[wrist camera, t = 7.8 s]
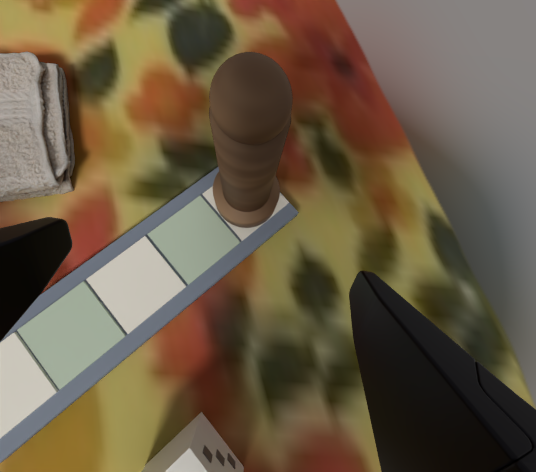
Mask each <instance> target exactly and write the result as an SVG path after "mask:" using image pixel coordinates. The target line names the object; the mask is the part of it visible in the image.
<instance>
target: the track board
mask: <svg viewBox="0 0 536 472" xmlns="http://www.w3.org/2000/svg"><path fill="white" fill-rule="evenodd" d="M218 172H219V168H218V167H217V168H216V169H214V170H213V171H212V172H210V173H209V174H208V175H206V176H205V177H203V178H202V179H201V180H199V181H198V182H196V183H195V184H194V185H192V186H191V187H189V188H188V189H187V190H185V191H184V192H183V193H181V194H180V195H178V196H177V197H176V198H174V199H173V200H171V201H170V202H169V203H167V204H166V205H164V206H163V207H162V208H160V209H159V210H158V211H156V212H155V213H153V214H152V215H151V216H149V217H148V218H146V219H145V220H144V221H142V222H141V223H139V224H138V225H137V226H135V227H134V228H133V229H131V230H130V231H128V232H127V233H126V234H124V235H123V236H121V237H120V238H119V239H117V240H116V241H115V242H113V243H112V244H110V245H109V246H108V247H106V248H105V249H103V250H102V251H101V252H99V253H98V254H96V255H95V256H94V257H92V258H91V259H90V260H88V261H87V262H85V263H84V264H83V265H81V266H80V267H78V268H77V269H76V270H74V271H73V272H71V273H70V274H69V275H67V276H66V277H65V278H63V279H62V280H60V281H59V282H58V283H56V284H55V285H53V286H52V287H51V288H49V289H48V290H46V291H45V292H44V293H42V294H41V295H40V296H38V298H37V299H36V300H35V301H34V302H33V304H32V305H31V306H30V307H29V308H28V310H27V311H26V312H25V313H24V314H23V315H22V317H21V318H20V319H19V320H18V321H17V323H16V324H15V325H14V326H13V327H12V329H11V330H10V331H9V332H8V333H7V334H6V336H5V337H4V338H3V339H2V340H1V342H0V463H1V462H3V461H4V460H5V459H7V458H8V457H9V456H10V455H11V454H13V453H14V452H15V451H16V450H17V449H19V448H20V447H21V446H22V445H23V444H25V443H26V442H27V441H28V440H29V439H30V438H32V437H33V436H34V435H35V434H36V433H38V432H39V431H40V430H41V429H42V428H44V427H45V426H46V425H47V424H48V423H50V422H51V421H52V420H53V419H54V418H56V417H57V416H58V415H59V414H60V413H62V412H63V411H64V410H65V409H66V408H67V407H69V406H70V405H71V404H72V403H73V402H75V401H76V400H77V399H78V398H79V397H81V396H82V395H83V394H84V393H85V392H87V391H88V390H89V389H90V388H91V387H93V386H94V385H95V384H96V383H97V382H99V381H100V380H101V379H102V378H103V377H105V376H106V375H107V374H108V373H109V372H110V371H112V370H113V369H114V368H115V367H116V366H118V365H119V364H120V363H121V362H122V361H124V360H125V359H126V358H127V357H128V356H130V355H131V354H132V353H133V352H134V351H136V350H137V349H138V348H139V347H140V346H142V345H143V344H144V343H145V342H146V341H148V340H149V339H150V338H151V337H152V336H153V335H155V334H156V333H157V332H158V331H159V330H161V329H162V328H163V327H164V326H165V325H167V324H168V323H169V322H170V321H171V320H173V319H174V318H175V317H176V316H177V315H179V314H180V313H181V312H182V311H183V310H185V309H186V308H187V307H188V306H189V305H190V304H192V303H193V302H194V301H195V300H196V299H198V298H199V297H200V296H201V295H202V294H204V293H205V292H206V291H207V290H208V289H210V288H211V287H212V286H213V285H214V284H216V283H217V282H218V281H219V280H220V279H222V278H223V277H224V276H225V275H226V274H228V273H229V272H230V271H231V270H232V269H233V268H235V267H236V266H237V265H238V264H239V263H241V262H242V261H243V260H244V259H245V258H247V257H248V256H249V255H250V254H251V253H253V252H254V251H255V250H256V249H257V248H259V247H260V246H261V245H262V244H263V243H265V242H266V241H267V240H268V239H269V238H270V237H272V236H273V235H274V234H275V233H276V232H278V231H279V230H280V229H281V228H282V227H284V226H285V225H286V224H287V223H288V222H290V221H291V220H292V219H293V218H294V217H296V216H297V214H298V211H297V210H296V209H295V208H294V207H293V206H292V205H291V204H290V203H289V201H288V200H287V199H286V198H285V197H284V196H283V195H282V194H281V193H280V195H279V200H278V203H277V205H276V208H275V210H274V212H273V214H272V215H271V217H270V218H269V219H268V220H267V221H266V222H264V223H263V224H261V225H259V226H256V227H252V228H241V227H237V226H234V225H232V224H230V223H228V222H227V221H226V220H225V219H224V218H223V217H222V216H221V215H220V213H219V212H218V210H217V207H216V204H215V200H214V196H213V183H214V179H215V177H216V175H217V173H218Z"/></svg>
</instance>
